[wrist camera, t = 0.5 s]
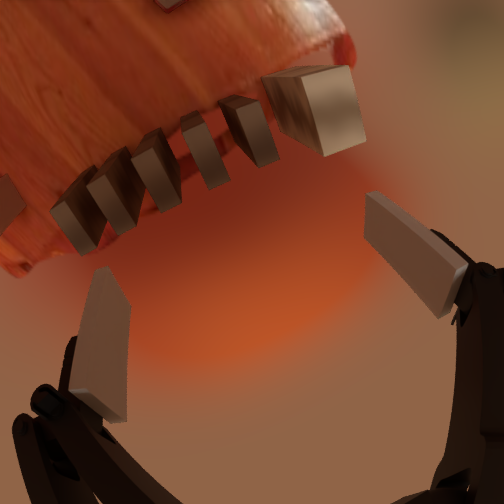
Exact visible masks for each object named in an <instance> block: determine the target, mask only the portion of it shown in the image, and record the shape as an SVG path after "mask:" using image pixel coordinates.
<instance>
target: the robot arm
mask: <svg viewBox="0 0 504 504" xmlns="http://www.w3.org/2000/svg"><path fill="white" fill-rule="evenodd" d="M364 238H365V239H366V240H367V241H368V242H369V243H370V244H371V246H372V247H373V248H374V249H375V250H376V251H378V252H379V254H380V255H381V256H382V257H383V258H384V259H385V260H386V261H387V262H388V263H389V264H390V265H391V266H392V267H393V269H394V270H395V271H396V272H397V273H398V274H399V275H400V276H401V277H402V278H403V279H404V280H405V282H406V283H407V284H408V285H409V286H410V287H411V288H412V289H413V290H414V292H415V293H416V294H417V295H418V296H419V297H420V299H422V301H423V302H424V303H425V304H426V305H427V307H428V308H429V309H430V310H431V311H432V312H433V314H434V315H435V316H436V317H437V319H439V318H441V317H443V316H445V315H446V314H448V313H450V311H451V308H452V306H453V304H454V303H455V304H456V305H457V306H458V308H457V311H456V313H455V315H454V317H453V320H452V323H451V325H453V324H454V322H455V320H456V323H457V324H456V326H457V349H456V372H455V386H454V396H453V406H452V413H451V420H450V426H449V433H448V438H447V443H446V448H445V453H444V456H443V458H442V460H441V462H440V463H439V465H438V467H437V469H436V471H435V474H434V477H433V481H432V485H431V488H430V490H425V491H422V492H419V493H416V494H413V495H409V496H406V497H403V498H401V499H399V500H397V501H395V502H394V503H392V504H504V268H499V269H496V268H495V267H494V266H492V265H490V264H488V263H485V262H479V263H475V262H474V261H473V260H472V259H471V258H470V257H469V256H468V255H466V254H465V253H464V252H463V251H462V250H461V249H460V248H459V247H457V246H455V244H454V243H453V242H451V241H449V239H448V238H447V237H445V236H444V235H443V234H442V233H440V232H437V231H435V230H433V229H430V230H429V229H428V228H427V227H425V226H424V225H423V224H421V223H420V222H419V221H418V220H416V219H415V218H414V217H413V216H411V215H410V214H409V213H407V212H406V211H405V210H403V209H402V208H401V207H399V206H398V205H397V204H395V203H394V202H393V201H391V200H390V199H388V198H387V197H386V196H384V195H383V194H382V193H380V192H378V191H373V192H369V193H366V195H365V225H364ZM130 314H131V305H130V303H129V302H128V300H127V298H126V297H125V295H124V293H123V291H122V290H121V288H120V286H119V285H118V283H117V281H116V279H115V278H114V276H113V274H112V272H111V270H110V268H109V266H106V267H103V268H100V269H96V270H95V272H94V275H93V279H92V282H91V285H90V289H89V292H88V296H87V300H86V303H85V308H84V312H83V316H82V320H81V324H80V329H79V333H78V336H74V337H72V338H71V339H70V341H69V343H68V345H67V347H66V350H65V355H64V358H65V359H64V360H63V367H62V370H61V376H60V382H59V388H58V391H57V390H56V389H55V388H54V387H53V386H51V385H49V384H43V385H40V386H39V387H38V388H36V390H35V391H34V393H33V394H32V397H31V402H30V406H31V410H32V411H33V412H35V413H36V414H37V415H39V416H38V417H36V418H34V419H33V418H32V417H31V416H29V415H28V414H25V413H22V414H20V415H18V416H17V417H16V419H15V420H14V422H13V426H12V434H13V439H14V444H15V449H16V453H17V457H18V461H19V465H20V469H21V473H22V476H23V479H24V482H25V486H26V489H27V492H28V495H29V498H30V500H31V503H32V504H99V503H98V501H97V499H96V497H95V495H96V496H97V498H98V499H99V500H100V501H101V502H102V503H103V504H182V503H181V502H180V501H179V500H178V499H176V498H175V497H174V496H173V495H172V494H171V493H169V492H168V491H167V490H166V489H164V487H162V486H161V485H160V484H159V483H158V482H157V481H156V480H155V479H154V478H153V477H152V476H150V474H148V473H147V472H146V471H145V470H144V469H143V468H142V467H141V466H140V465H139V464H138V463H137V462H136V461H135V460H134V459H133V458H132V457H131V456H130V454H129V453H128V452H126V450H125V449H124V448H123V447H122V446H121V445H120V444H119V443H118V441H116V439H115V438H114V437H113V436H112V435H111V433H110V432H109V431H108V430H107V429H106V428H105V427H104V426H102V425H103V418H104V419H105V420H106V421H108V422H109V423H111V424H112V423H121V422H127V405H126V403H127V402H126V401H127V399H126V398H127V394H126V393H127V389H126V388H127V357H128V339H129V326H130ZM469 484H470V485H469ZM468 486H469V489H468V491H467V488H468ZM94 494H95V495H94Z"/></svg>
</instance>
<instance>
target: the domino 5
mask: <svg viewBox="0 0 504 504" xmlns="http://www.w3.org/2000/svg"><path fill="white" fill-rule="evenodd" d="M181 131H182V135H183V137H184V139H185V141H186V143H187V145H188V147H189V149H190V152H191V154H192V156H193V158H194V160H195V162H196V164H197V166H198V168H199V170H200V172H201V175H202V176H203V179H204V181H205V183H206V185H207V187H208V189H209V190H211V189H213V188H215V187H217V186H219V185H222V184H224V183H226V182H228V181H230V180H231V179H230V177H229V175H228V173H227V170H226V168H225V166H224V163H223V161H222V159H221V157H220V154H219V152H218V150H217V148H216V145H215V143H214V141H213V139H212V136H211V134H210V132H209V130H208V127H207V125H206V123H205V121H204V120H203V118H202V117H201V115H200V114H199V112H198V111H197V110H196V111H193V112H191V113H189V114H187V115H185V116H182V117H181Z"/></svg>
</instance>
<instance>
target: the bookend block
mask: <svg viewBox="0 0 504 504" xmlns="http://www.w3.org/2000/svg"><path fill="white" fill-rule="evenodd" d="M261 79H262V82H263V85H264V87H265V90H266V93H267V95H268V98H269V101H270V104H271V106H272V109H273V112H274V115H275V118H276V120H277V123H278V126H279V129H280V132H282V133H284V134H286V135H288V136H289V137H291V138H293V139H295V140H297V141H298V142H300V143H302V144H304V145H305V146H307V147H309V148H311V149H312V150H314V151H316V152H317V153H319V154H321V155H322V156H324V157H325V156H328V155H330V154H333V153H336V152H338V151H341V150H344V149H347V148H349V147H352V146H355V145H357V144H360V143H363V142H366V136H365V131H364V126H363V122H362V117H361V113H360V108H359V104H358V100H357V96H356V92H355V88H354V84H353V80H352V77H351V73H350V69H349V66H348V65H319V66H298V67H292V68H289V69H285V70H282V71H279V72H275V73H272V74H269V75H266V76H263V77H261Z"/></svg>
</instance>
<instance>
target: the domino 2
mask: <svg viewBox="0 0 504 504" xmlns="http://www.w3.org/2000/svg"><path fill="white" fill-rule="evenodd" d="M97 171H98V170H97V168H96V167H95V165H93V166H92V167H90V168H88V169H87V170H85V171H84V172H82V173H81V174H80V175H79V176H78V178H77V179H76V180H75V181H74V182H73V183H72V184H71V186H70V187H69V188H68V189H67V190H66V191H65V193H64V194H63V195H62V196H61V197H60V199H59V200H58V201H57V202H56V204H55V205H54V206H53V207H52V209H51V210H50V211H49V212H50V213H51V215H52V216H53V218H54V219H55V221H56V222H57V224H58V225H59V226H60V228H61V229H62V231H63V232H64V233H65V235H66V236H67V238H68V239H69V240H70V242H71V243H72V244H73V246H74V247H75V248H76V250H77V251H78V252H79V254H80V255H81V256H83V255H85V254H87V253H89V252H90V251H92V250H94V249H96V248H97V246H98V243H99V241H100V238H101V236H102V233H103V230H104V228H105V225H106V223H107V221H108V220H107V218H106V217H105V215H104V214H103V212H102V211H101V209H100V208H99V206H98V204H97V203H96V201H95V200H94V198H93V197H92V195H91V193H90V192H89V190H88V189H87V187H86V186H87V184H88V183H89V182H90V180H91V179H92V178H93V176H94V175H95V174H96V173H97Z"/></svg>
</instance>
